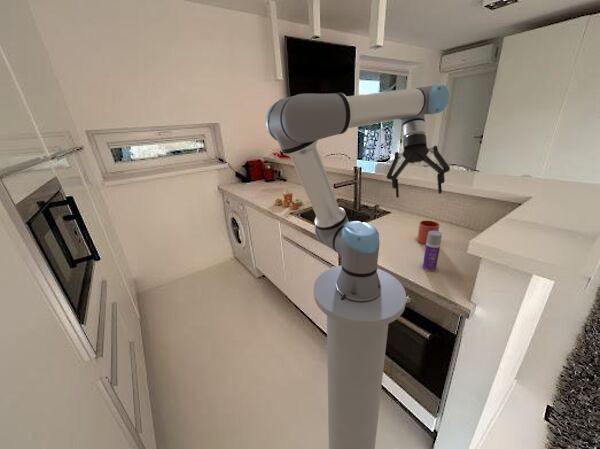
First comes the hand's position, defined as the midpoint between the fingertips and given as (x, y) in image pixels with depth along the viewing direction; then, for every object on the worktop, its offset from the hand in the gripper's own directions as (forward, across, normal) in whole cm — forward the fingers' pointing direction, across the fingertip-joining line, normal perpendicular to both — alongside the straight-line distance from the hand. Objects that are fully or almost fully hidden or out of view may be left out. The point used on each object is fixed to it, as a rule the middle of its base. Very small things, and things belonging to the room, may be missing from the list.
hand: (418, 195), depth 87 cm
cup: (+17, -4, -35) cm, 39 cm away
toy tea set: (-12, +83, -65) cm, 106 cm away
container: (+27, -3, -13) cm, 30 cm away
